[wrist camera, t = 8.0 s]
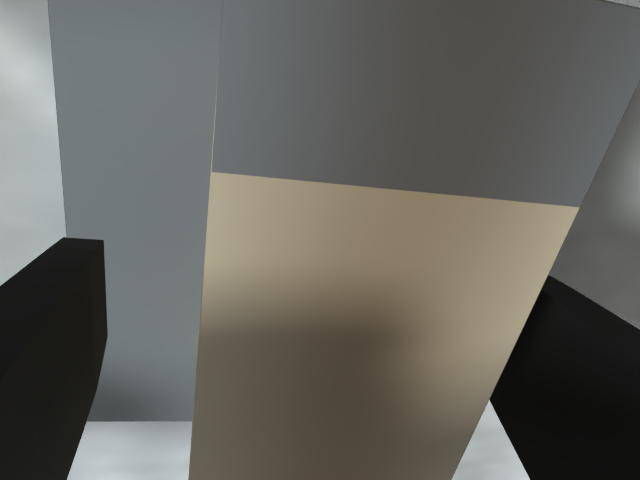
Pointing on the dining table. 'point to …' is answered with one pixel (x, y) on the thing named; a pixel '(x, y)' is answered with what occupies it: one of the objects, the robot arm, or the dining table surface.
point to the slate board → (140, 183)
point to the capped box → (388, 220)
